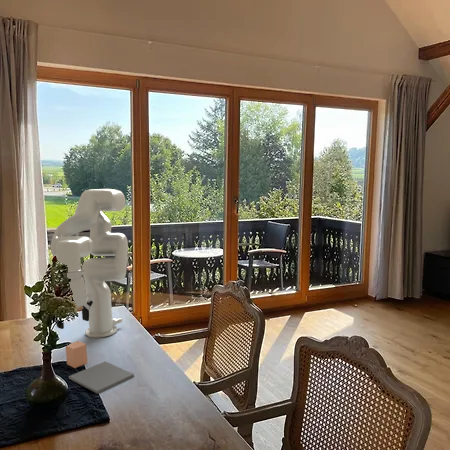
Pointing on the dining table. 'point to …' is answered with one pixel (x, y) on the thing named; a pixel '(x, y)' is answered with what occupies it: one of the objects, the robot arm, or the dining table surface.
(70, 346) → the block
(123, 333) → the dining table surface
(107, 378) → the mat
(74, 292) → the robot arm
